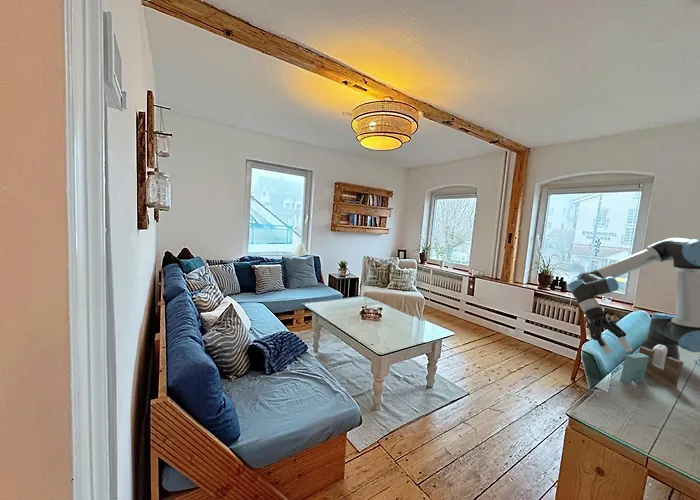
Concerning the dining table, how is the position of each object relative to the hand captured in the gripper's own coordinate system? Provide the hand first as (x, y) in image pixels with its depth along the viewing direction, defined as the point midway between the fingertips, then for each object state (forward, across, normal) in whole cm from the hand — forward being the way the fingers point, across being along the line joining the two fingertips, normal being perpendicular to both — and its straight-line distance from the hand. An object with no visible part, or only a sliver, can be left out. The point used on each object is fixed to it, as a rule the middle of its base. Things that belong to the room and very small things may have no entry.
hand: (619, 352), depth 137 cm
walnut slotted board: (+12, -15, -2) cm, 20 cm away
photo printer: (+8, -27, -7) cm, 29 cm away
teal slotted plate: (+12, -1, -3) cm, 12 cm away
